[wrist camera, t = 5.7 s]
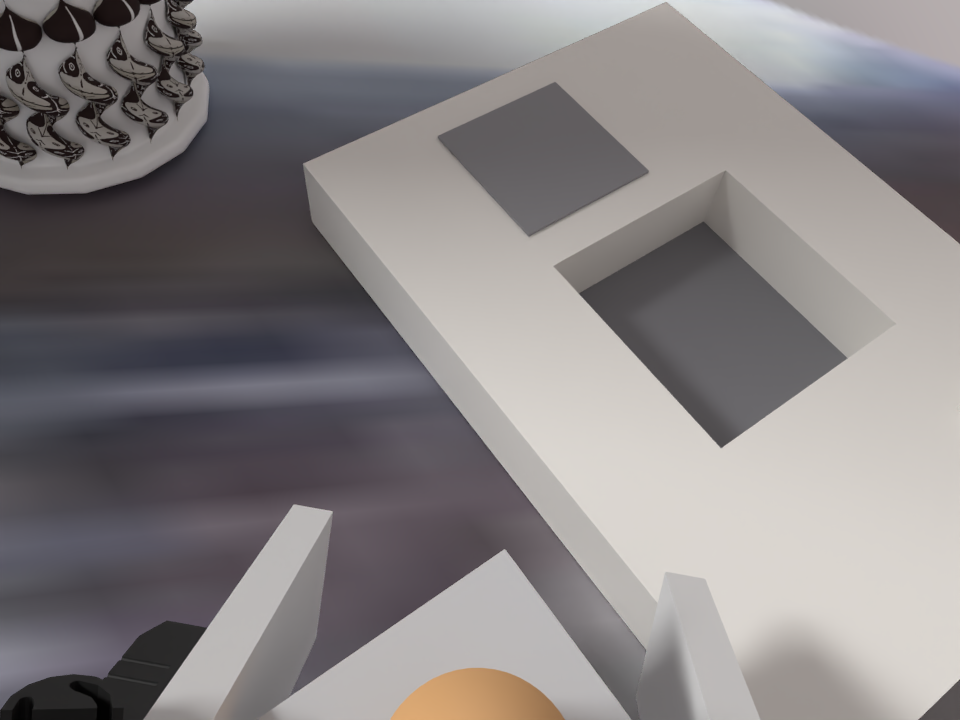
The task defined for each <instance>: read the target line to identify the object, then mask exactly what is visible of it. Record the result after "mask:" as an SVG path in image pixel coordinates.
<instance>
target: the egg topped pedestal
mask: <svg viewBox="0 0 960 720" xmlns="http://www.w3.org/2000/svg"><path fill="white" fill-rule="evenodd" d="M257 720H632V719H631V718H630V717H629V715H628V714H627V713H626V711H625V710H624V709H623V707H622V706H621V705H620V703H619V702H618V701H617V699H616V698H615V696H614V695H613V694H612V692H611V691H610V690H609V688H608V687H607V686H606V684H605V683H604V682H603V680H602V679H601V678H600V676H599V675H598V674H597V672H596V671H595V670H594V668H593V667H592V666H591V664H590V663H589V662H588V660H587V659H586V657H585V656H584V655H583V653H582V652H581V651H580V649H579V648H578V647H577V645H576V644H575V643H574V641H573V640H572V639H571V637H570V636H569V635H568V633H567V632H566V631H565V629H564V628H563V627H562V625H561V624H560V623H559V621H558V620H557V618H556V617H555V616H554V614H553V613H552V612H551V610H550V609H549V608H548V606H547V605H546V604H545V602H544V601H543V600H542V598H541V597H540V596H539V594H538V593H537V592H536V590H535V589H534V588H533V586H532V585H531V584H530V582H529V581H528V579H527V578H526V577H525V575H524V574H523V573H522V571H521V570H520V569H519V567H518V566H517V565H516V563H515V562H514V561H513V559H512V558H511V557H510V555H509V554H508V553H507V551H506V550H505V549H504V550H503V551H501V552H500V553H499V554H497V555H496V556H494V557H493V558H491V559H490V560H488V561H487V562H485V563H484V564H483V565H481V566H480V567H478V568H477V569H475V570H474V571H472V572H471V573H469V574H468V575H466V576H465V577H464V578H462V579H461V580H459V581H458V582H456V583H455V584H453V585H452V586H450V587H449V588H448V589H446V590H445V591H443V592H442V593H440V594H439V595H437V596H436V597H434V598H433V599H432V600H430V601H429V602H427V603H426V604H424V605H423V606H421V607H420V608H418V609H417V610H416V611H414V612H413V613H411V614H410V615H408V616H407V617H405V618H404V619H402V620H401V621H400V622H398V623H397V624H395V625H394V626H392V627H391V628H389V629H388V630H386V631H385V632H384V633H382V634H381V635H379V636H378V637H376V638H375V639H373V640H372V641H370V642H369V643H368V644H366V645H365V646H363V647H362V648H360V649H359V650H357V651H356V652H354V653H353V654H352V655H350V656H349V657H347V658H346V659H344V660H343V661H341V662H340V663H338V664H337V665H336V666H334V667H333V668H331V669H330V670H328V671H327V672H325V673H324V674H322V675H321V676H320V677H318V678H317V679H315V680H314V681H312V682H311V683H309V684H308V685H306V686H305V687H304V688H302V689H301V690H299V691H298V692H296V693H295V694H293V695H292V696H290V697H289V698H287V699H286V700H285V701H283V702H282V703H280V704H279V705H277V706H276V707H274V708H273V709H271V710H270V711H269V712H267V713H266V714H264V715H263V716H261V717H260V718H258V719H257Z"/></svg>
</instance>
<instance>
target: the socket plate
mask: <svg viewBox="0 0 960 720" xmlns="http://www.w3.org/2000/svg"><path fill="white" fill-rule="evenodd" d="M303 167H304V174H305V180H306V187H307V193H308V200H309V206H310V213H311V219H312V222H313V224H314V225H315V226H316V228H317V229H318V230H319V231H320V233H321V234H322V235H323V237H324V238H325V239H326V240H327V242H328V243H329V244H330V246H331V247H332V248H333V249H334V251H335V252H336V253H337V254H338V256H339V257H340V258H341V260H342V261H343V262H344V263H345V265H346V266H347V267H348V269H349V270H350V271H351V272H352V274H353V275H354V276H355V278H356V279H357V280H358V281H359V283H360V284H361V285H362V287H363V288H364V289H365V290H366V292H367V293H368V294H369V295H370V297H371V298H372V299H373V301H374V302H375V303H376V304H377V306H378V307H379V308H380V310H381V311H382V312H383V313H384V315H385V316H386V317H387V319H388V320H389V321H390V322H391V324H392V325H393V326H394V328H395V329H396V330H397V331H398V333H399V334H400V335H401V336H402V338H403V339H404V340H405V342H406V343H407V344H408V345H409V347H410V348H411V349H412V351H413V352H414V353H415V354H416V356H417V357H418V358H419V360H420V361H421V362H422V363H423V365H424V366H425V367H426V369H427V370H428V371H429V372H430V374H431V375H432V376H433V377H434V379H435V380H436V381H437V383H438V384H439V385H440V386H441V388H442V389H443V390H444V392H445V393H446V394H447V395H448V397H449V398H450V399H451V401H452V402H453V403H454V404H455V406H456V407H457V408H458V410H459V411H460V412H461V413H462V415H463V416H464V417H465V418H466V420H467V421H468V422H469V424H470V425H471V426H472V427H473V429H474V430H475V431H476V433H477V434H478V435H479V436H480V438H481V439H482V440H483V442H484V443H485V444H486V445H487V447H488V448H489V449H490V451H491V452H492V453H493V454H494V456H495V457H496V458H497V459H498V461H499V462H500V463H501V465H502V466H503V467H504V468H505V470H506V471H507V472H508V474H509V475H510V476H511V477H512V479H513V480H514V481H515V483H516V484H517V485H518V486H519V488H520V489H521V490H522V492H523V493H524V494H525V495H526V497H527V498H528V499H529V501H530V502H531V503H532V504H533V506H534V507H535V508H536V509H537V511H538V512H539V513H540V515H541V516H542V517H543V518H544V520H545V521H546V522H547V524H548V525H549V526H550V527H551V529H552V530H553V531H554V533H555V534H556V535H557V536H558V538H559V539H560V540H561V542H562V543H563V544H564V545H565V547H566V548H567V549H568V550H569V552H570V553H571V554H572V556H573V557H574V558H575V559H576V561H577V562H578V563H579V565H580V566H581V567H582V568H583V570H584V571H585V572H586V574H587V575H588V576H589V577H590V579H591V580H592V581H593V583H594V584H595V585H596V586H597V588H598V589H599V590H600V591H601V593H602V594H603V595H604V597H605V598H606V599H607V600H608V602H609V603H610V604H611V606H612V607H613V608H614V609H615V611H616V612H617V613H618V615H619V616H620V617H621V618H622V620H623V621H624V622H625V624H626V625H627V626H628V627H629V629H630V630H631V631H632V632H633V634H634V635H635V636H636V638H637V639H638V640H639V641H640V643H641V644H642V645H643V647H644V648H645V649H646V650H647V647H648V642H649V638H650V634H651V630H652V625H653V621H654V617H655V613H656V608H657V604H658V600H659V596H660V592H661V587H662V583H663V579H664V575H665V572H671V573H676V574H682V575H687V576H693V577H698V578H704V579H705V580H706V582H707V585H708V587H709V590H710V592H711V595H712V597H713V600H714V603H715V605H716V608H717V610H718V613H719V615H720V618H721V620H722V623H723V625H724V628H725V631H726V633H727V636H728V638H729V641H730V643H731V646H732V648H733V651H734V654H735V656H736V659H737V661H738V664H739V666H740V669H741V671H742V674H743V677H744V679H745V682H746V684H747V687H748V689H749V692H750V694H751V697H752V700H753V702H754V705H755V707H756V710H757V712H758V715H759V717H760V720H918V719H919V718H920V717H921V716H922V715H924V714H925V713H926V712H927V711H928V710H929V709H930V708H931V707H932V706H933V705H934V704H935V703H936V702H937V701H938V700H939V699H940V698H941V697H942V696H943V695H944V694H945V693H946V692H947V691H948V690H949V689H950V688H951V687H952V686H953V685H954V684H955V683H956V682H957V681H958V680H959V679H960V244H959V243H958V242H957V241H956V240H954V239H953V238H952V237H951V236H949V235H948V234H947V233H946V232H945V231H943V230H942V229H941V228H940V227H939V226H937V225H936V224H935V223H934V222H933V221H931V220H930V219H929V218H928V217H926V216H925V215H924V214H923V213H922V212H920V211H919V210H918V209H917V208H916V207H914V206H913V205H912V204H911V203H909V202H908V201H907V200H906V199H905V198H903V197H902V196H901V195H900V194H899V193H897V192H896V191H895V190H894V189H892V188H891V187H890V186H889V185H888V184H886V183H885V182H884V181H883V180H882V179H880V178H879V177H878V176H877V175H875V174H874V173H873V172H872V171H871V170H869V169H868V168H867V167H866V166H865V165H863V164H862V163H861V162H860V161H859V160H857V159H856V158H855V157H854V156H852V155H851V154H850V153H849V152H848V151H846V150H845V149H844V148H843V147H842V146H840V145H839V144H838V143H837V142H835V141H834V140H833V139H832V138H831V137H829V136H828V135H827V134H826V133H825V132H823V131H822V130H821V129H820V128H818V127H817V126H816V125H815V124H814V123H812V122H811V121H810V120H809V119H808V118H806V117H805V116H804V115H803V114H801V113H800V112H799V111H798V110H797V109H795V108H794V107H793V106H792V105H791V104H789V103H788V102H787V101H786V100H785V99H783V98H782V97H781V96H780V95H778V94H777V93H776V92H775V91H774V90H772V89H771V88H770V87H769V86H768V85H766V84H765V83H764V82H763V81H761V80H760V79H759V78H758V77H757V76H755V75H754V74H753V73H752V72H751V71H749V70H748V69H747V68H746V67H744V66H743V65H742V64H741V63H740V62H738V61H737V60H736V59H735V58H734V57H732V56H731V55H730V54H729V53H727V52H726V51H725V50H724V49H723V48H721V47H720V46H719V45H718V44H717V43H715V42H714V41H713V40H712V39H711V38H709V37H708V36H707V35H706V34H704V33H703V32H702V31H701V30H700V29H698V28H697V27H696V26H695V25H694V24H692V23H691V22H690V21H689V20H687V19H686V18H685V17H684V16H683V15H681V14H680V13H679V12H678V11H677V10H675V9H674V8H673V7H672V6H670V5H669V4H668V3H667V2H665V3H663V4H661V5H658V6H656V7H654V8H652V9H649V10H647V11H645V12H643V13H640V14H638V15H636V16H634V17H632V18H629V19H627V20H625V21H623V22H620V23H618V24H616V25H614V26H611V27H609V28H607V29H605V30H602V31H600V32H598V33H596V34H593V35H591V36H589V37H587V38H584V39H582V40H580V41H578V42H575V43H573V44H571V45H569V46H566V47H564V48H562V49H560V50H557V51H555V52H553V53H551V54H548V55H546V56H544V57H542V58H539V59H537V60H535V61H533V62H530V63H528V64H526V65H524V66H521V67H519V68H517V69H515V70H512V71H510V72H508V73H506V74H503V75H501V76H499V77H497V78H494V79H492V80H490V81H488V82H485V83H483V84H481V85H479V86H476V87H474V88H472V89H470V90H467V91H465V92H463V93H461V94H458V95H456V96H454V97H452V98H449V99H447V100H445V101H443V102H440V103H438V104H436V105H434V106H431V107H429V108H427V109H425V110H422V111H420V112H418V113H416V114H413V115H411V116H409V117H407V118H405V119H402V120H400V121H398V122H396V123H393V124H391V125H389V126H387V127H384V128H382V129H380V130H378V131H375V132H373V133H371V134H369V135H366V136H364V137H362V138H360V139H357V140H355V141H353V142H351V143H348V144H346V145H344V146H342V147H339V148H337V149H335V150H333V151H330V152H328V153H326V154H324V155H321V156H319V157H317V158H315V159H312V160H310V161H308V162H306V163H303Z"/></svg>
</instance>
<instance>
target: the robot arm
mask: <svg viewBox="0 0 960 720" xmlns="http://www.w3.org/2000/svg"><path fill="white" fill-rule="evenodd" d="M332 515H333V511H327V510H322V509H316V508H311V507H305V506H300V505H293V506H292V508H291V509H290V511H289V512H288V514H287V515H286V516H285V518H284V519H283V521H282V522H281V524H280V525H279V526H278V528H277V529H276V531H275V532H274V534H273V535H272V537H271V538H270V539H269V541H268V542H267V544H266V545H265V547H264V548H263V549H262V551H261V552H260V554H259V555H258V557H257V558H256V559H255V561H254V562H253V564H252V565H251V567H250V568H249V569H248V571H247V572H246V574H245V575H244V577H243V578H242V579H241V581H240V582H239V584H238V585H237V587H236V588H235V589H234V591H233V592H232V594H231V595H230V597H229V598H228V599H227V601H226V602H225V604H224V605H223V607H222V608H221V609H220V611H219V612H218V614H217V615H216V617H215V618H214V619H213V621H212V622H211V624H210V625H209V627H208V628H204V627H199V626H193V625H188V624H183V623H177V622H172V621H165V622H163V623H162V624H160V625H158V626H156V627H154V628H153V629H151V630H149V631H147V632H145V633H144V634H142V635H140V636H139V637H138V638H137V639H136V641H135V642H134V643H133V644H132V645H131V647H130V648H129V649H128V650H127V651H126V653H125V654H124V655H123V656H122V660H121V661H120V660H119V661H118V662H117V663H116V665H115V666H114V667H113V668H112V669H111V671H110V672H109V673H108V677H107V678H104V679H103V680H102V679H100V678H97V677H94V676H85V675H75V674H72V675H64V676H56V677H49V678H46V679H44V680H41V681H38V682H35V683H32V684H29V685H27V686H26V687H24V688H23V689H21V690H20V691H18V692H16V693H15V694H13V695H12V696H11V697H10V698H9V699H8V701H7V702H6V703H5V705H4V706H3V707H2V709H1V710H0V720H257V719H258V718H260V717H261V716H263V715H264V714H266V713H267V712H269V711H270V710H271V709H273V708H274V707H276V706H277V705H279V704H280V703H282V702H283V701H285V700H286V699H287V698H289V696H290V694H291V692H292V690H293V688H294V685H295V683H296V681H297V679H298V677H299V675H300V672H301V670H302V668H303V666H304V664H305V662H306V659H307V657H308V655H309V653H310V651H311V648H312V646H313V644H314V642H315V640H316V636H317V629H318V621H319V614H320V606H321V599H322V591H323V583H324V576H325V568H326V561H327V553H328V546H329V538H330V531H331V523H332ZM636 702H637V708H638V714H639V719H640V720H760V717H759V715H758V712H757V710H756V707H755V705H754V702H753V700H752V697H751V694H750V692H749V689H748V687H747V684H746V682H745V679H744V677H743V674H742V671H741V669H740V666H739V664H738V661H737V659H736V656H735V654H734V651H733V648H732V646H731V643H730V641H729V638H728V636H727V633H726V631H725V628H724V625H723V623H722V620H721V618H720V615H719V613H718V610H717V608H716V605H715V603H714V600H713V597H712V595H711V592H710V590H709V587H708V585H707V582H706V580H705V579H704V578H698V577H693V576H687V575H682V574H676V573H671V572H665V575H664V579H663V583H662V587H661V592H660V596H659V600H658V604H657V608H656V613H655V617H654V621H653V625H652V630H651V634H650V638H649V642H648V647H647V651H646V655H645V659H644V663H643V668H642V672H641V676H640V680H639V685H638V689H637V693H636Z"/></svg>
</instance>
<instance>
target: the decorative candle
mask: <svg viewBox="0 0 960 720" xmlns="http://www.w3.org/2000/svg"><path fill="white" fill-rule="evenodd" d="M192 1H193V0H0V188H4V189H8V190H12V191H15V192H19V193H23V194H27V195H33V194H76V193H89V192H92V191H96V190H100V189H103V188H107V187H110V186H114V185H117V184H121V183H125V182H128V181H132V180H135V179H139V178H142V177H144V176H145V175H147V174H149V173H150V172H152V171H153V170H155V169H157V168H158V167H160V166H161V165H163V164H165V163H166V162H168V161H170V160H171V159H173V158H174V157H176V156H178V155H179V154H181V153H183V152H184V151H185V150H186V148H187V147H188V146H189V144H190V143H191V141H192V140H193V139H194V137H195V136H196V135H197V133H198V132H199V131H200V129H201V128H202V127H203V125H204V124H205V123H206V121H207V116H208V103H209V91H210V88H209V83H208V80H207V78H206V77H205V75H204V73H203V70H204V62H203V61H202V60H201V59H200V58H198V57H196V56H193V55H192V54H191V51H192V50H193V49H195V48H196V47H198V46H200V45H201V44H202V37H201V35H200V34H199V33H198V32H196V31H195V30H193V29H194V28H195V26H196V17H195V16H194V14H193V13H191V12H189V11H187V10H185V9H183V8H185V7H186V6H187V5H188V4H190V3H191V2H192Z"/></svg>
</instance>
